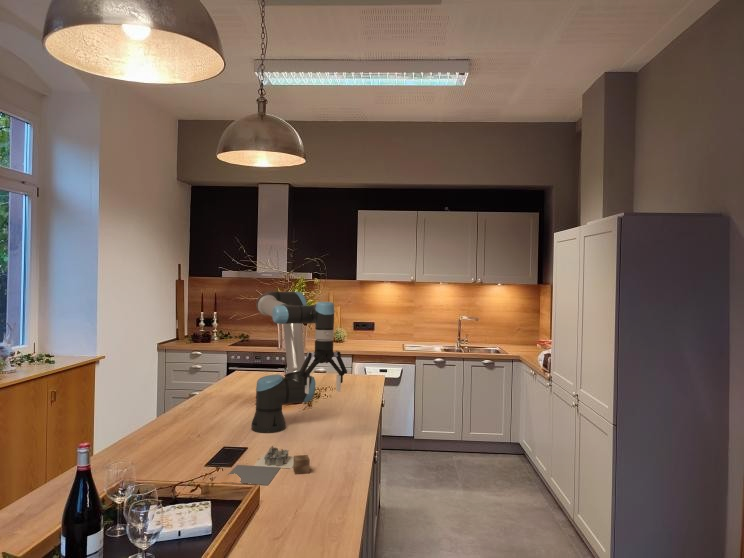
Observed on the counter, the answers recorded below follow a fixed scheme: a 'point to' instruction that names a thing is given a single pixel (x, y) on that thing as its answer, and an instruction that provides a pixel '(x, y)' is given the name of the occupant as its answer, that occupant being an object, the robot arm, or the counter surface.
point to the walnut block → (301, 464)
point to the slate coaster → (255, 474)
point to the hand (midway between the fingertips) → (322, 392)
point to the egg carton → (276, 456)
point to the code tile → (286, 464)
